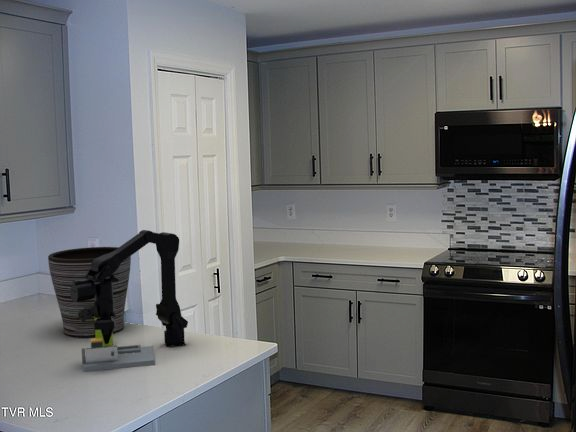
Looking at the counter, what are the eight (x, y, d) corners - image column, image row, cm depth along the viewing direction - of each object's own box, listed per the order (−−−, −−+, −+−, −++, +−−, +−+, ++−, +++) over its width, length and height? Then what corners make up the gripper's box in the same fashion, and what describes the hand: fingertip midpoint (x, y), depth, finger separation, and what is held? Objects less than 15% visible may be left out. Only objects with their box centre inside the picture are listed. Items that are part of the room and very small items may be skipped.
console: (153, 350, 230) (152, 332, 229) (154, 364, 215) (154, 345, 214) (84, 356, 225) (83, 338, 224) (81, 371, 209) (80, 352, 209)
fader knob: (103, 350, 225) (102, 337, 224) (102, 353, 222) (102, 340, 221) (92, 351, 224) (91, 338, 223) (91, 354, 221) (91, 341, 220)
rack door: (117, 359, 216) (117, 345, 215) (117, 361, 214) (117, 347, 213) (86, 362, 213) (85, 348, 213) (85, 364, 211) (85, 350, 211)
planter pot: (91, 345, 237) (86, 262, 233) (35, 334, 252) (30, 256, 249) (150, 325, 262) (147, 249, 259) (96, 316, 278) (92, 244, 275)
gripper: (80, 292, 224) (82, 337, 226) (76, 305, 206) (79, 354, 208) (114, 290, 227) (116, 334, 229) (113, 302, 209) (115, 351, 211)
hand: (106, 343), depth 219 cm, fingers closed
